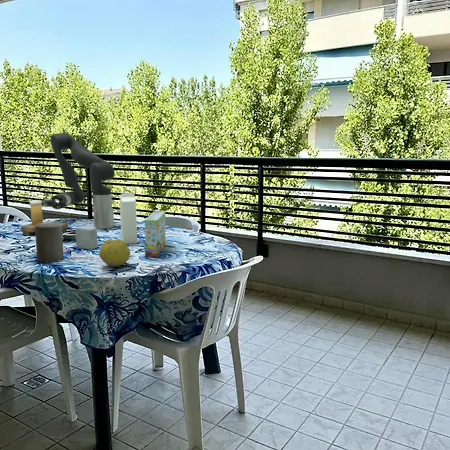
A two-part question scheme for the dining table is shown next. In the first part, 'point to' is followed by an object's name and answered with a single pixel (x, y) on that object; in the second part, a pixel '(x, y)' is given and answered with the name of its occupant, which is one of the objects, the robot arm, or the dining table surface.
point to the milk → (128, 218)
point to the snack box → (154, 233)
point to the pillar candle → (49, 241)
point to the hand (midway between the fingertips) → (44, 205)
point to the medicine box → (86, 237)
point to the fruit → (114, 252)
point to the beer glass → (36, 212)
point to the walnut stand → (30, 228)
